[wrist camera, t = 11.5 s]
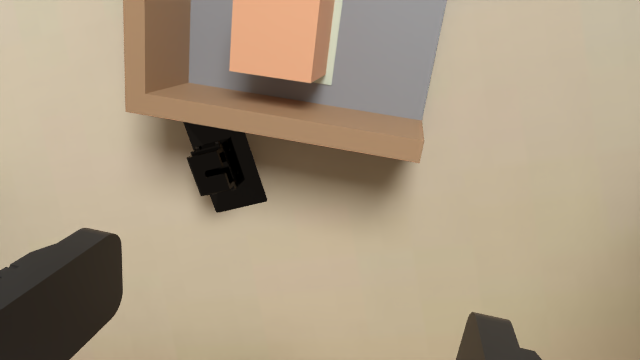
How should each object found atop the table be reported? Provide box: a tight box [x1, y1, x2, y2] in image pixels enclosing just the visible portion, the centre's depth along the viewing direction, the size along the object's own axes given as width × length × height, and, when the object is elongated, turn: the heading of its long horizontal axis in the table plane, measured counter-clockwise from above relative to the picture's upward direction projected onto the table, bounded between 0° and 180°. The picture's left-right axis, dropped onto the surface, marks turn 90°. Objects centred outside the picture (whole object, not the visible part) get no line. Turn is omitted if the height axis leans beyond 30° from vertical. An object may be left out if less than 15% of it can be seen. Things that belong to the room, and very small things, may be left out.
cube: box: [229, 0, 335, 83], centre depth 34 cm, size 6×6×6 cm
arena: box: [123, 0, 447, 163], centre depth 33 cm, size 22×17×8 cm
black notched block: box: [184, 122, 267, 212], centre depth 41 cm, size 12×7×5 cm, turn 16°
